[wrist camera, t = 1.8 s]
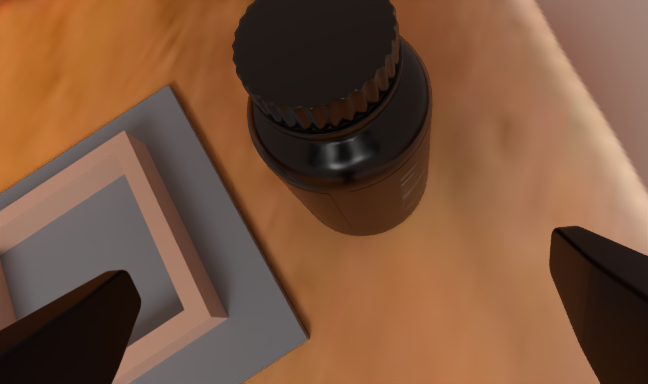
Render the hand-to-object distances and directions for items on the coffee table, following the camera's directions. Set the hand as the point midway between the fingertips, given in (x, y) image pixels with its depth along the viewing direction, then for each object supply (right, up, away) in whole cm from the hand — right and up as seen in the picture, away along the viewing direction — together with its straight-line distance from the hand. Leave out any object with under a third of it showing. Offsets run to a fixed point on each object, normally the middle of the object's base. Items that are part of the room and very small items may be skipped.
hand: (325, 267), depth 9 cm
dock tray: (-13, -4, +15) cm, 20 cm away
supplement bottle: (+2, +2, +14) cm, 14 cm away
